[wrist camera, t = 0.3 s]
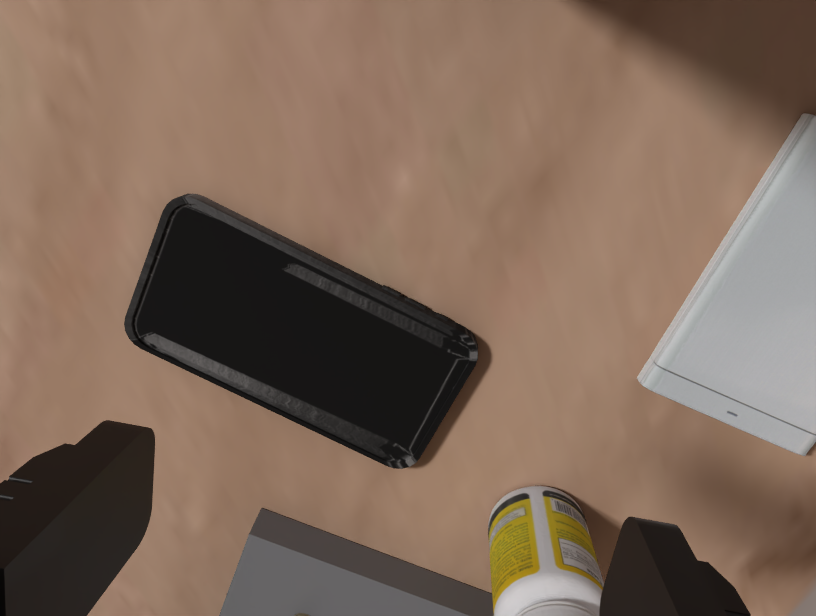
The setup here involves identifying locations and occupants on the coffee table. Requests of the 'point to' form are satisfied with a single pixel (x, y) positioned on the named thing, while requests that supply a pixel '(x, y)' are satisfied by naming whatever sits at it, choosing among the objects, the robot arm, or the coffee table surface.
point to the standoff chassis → (337, 578)
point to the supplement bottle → (542, 556)
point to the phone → (297, 332)
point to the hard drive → (754, 312)
